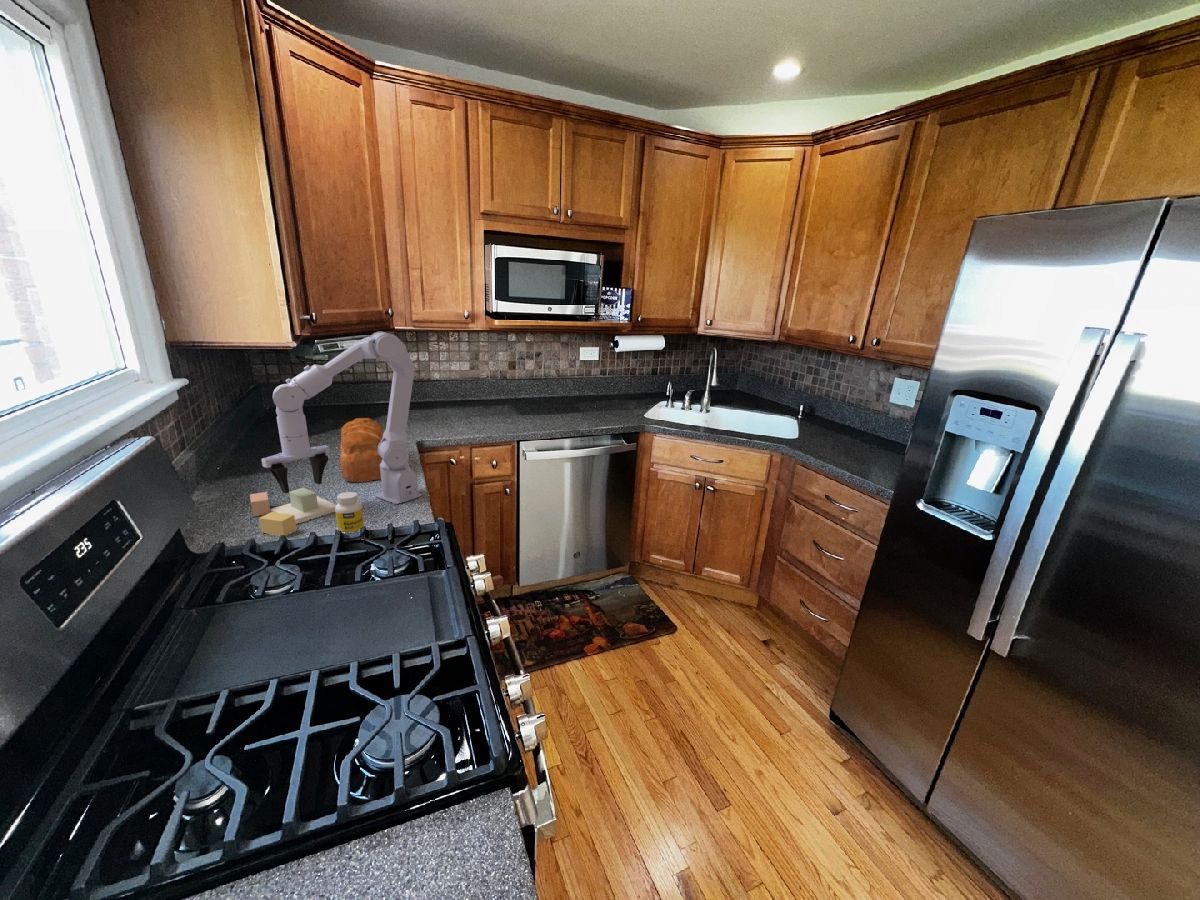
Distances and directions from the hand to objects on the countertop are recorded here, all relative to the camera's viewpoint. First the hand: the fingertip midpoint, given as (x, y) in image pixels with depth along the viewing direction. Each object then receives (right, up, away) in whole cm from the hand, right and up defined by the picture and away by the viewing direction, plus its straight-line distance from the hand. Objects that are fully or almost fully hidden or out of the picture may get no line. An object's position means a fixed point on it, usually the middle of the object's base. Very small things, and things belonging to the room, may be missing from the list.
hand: (302, 487), depth 117 cm
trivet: (0, -6, +2) cm, 7 cm away
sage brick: (0, -5, +2) cm, 5 cm away
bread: (-1, +3, +34) cm, 34 cm away
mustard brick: (0, -10, -9) cm, 13 cm away
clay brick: (-11, -6, +1) cm, 13 cm away
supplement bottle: (+17, -10, -9) cm, 22 cm away
